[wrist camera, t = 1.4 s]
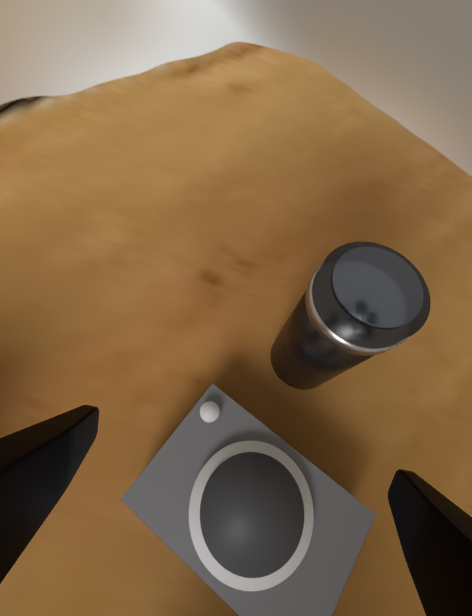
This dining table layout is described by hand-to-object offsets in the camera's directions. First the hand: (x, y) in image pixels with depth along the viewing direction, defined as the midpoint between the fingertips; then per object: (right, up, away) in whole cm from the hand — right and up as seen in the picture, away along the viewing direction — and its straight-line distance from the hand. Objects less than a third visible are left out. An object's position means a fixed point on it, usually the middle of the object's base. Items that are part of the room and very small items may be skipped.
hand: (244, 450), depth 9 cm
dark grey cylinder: (+5, 0, +15) cm, 16 cm away
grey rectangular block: (0, -8, +11) cm, 14 cm away
